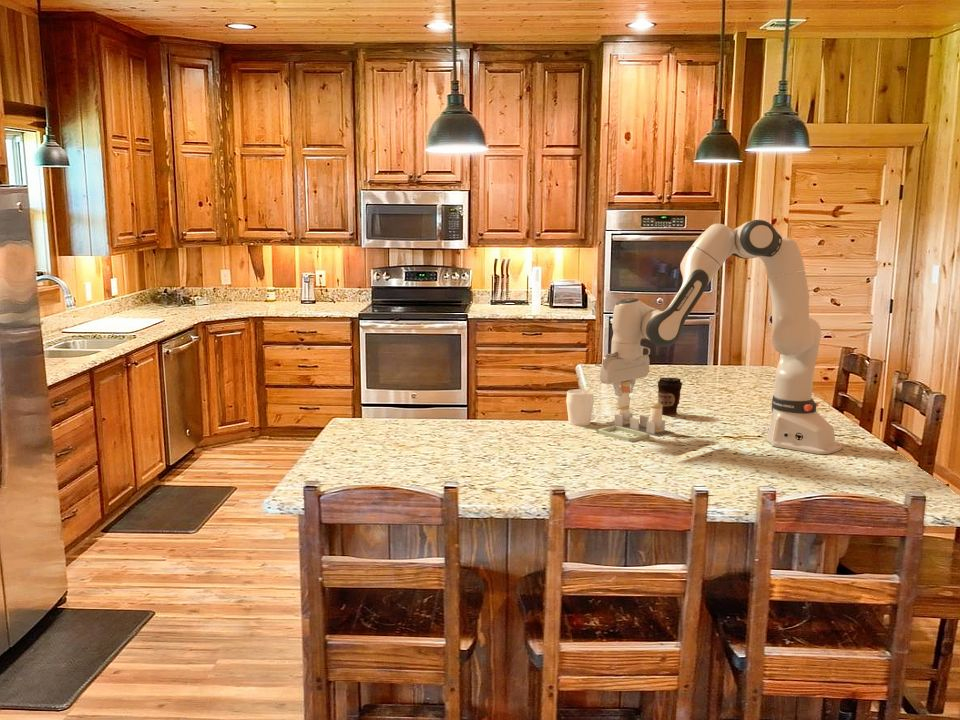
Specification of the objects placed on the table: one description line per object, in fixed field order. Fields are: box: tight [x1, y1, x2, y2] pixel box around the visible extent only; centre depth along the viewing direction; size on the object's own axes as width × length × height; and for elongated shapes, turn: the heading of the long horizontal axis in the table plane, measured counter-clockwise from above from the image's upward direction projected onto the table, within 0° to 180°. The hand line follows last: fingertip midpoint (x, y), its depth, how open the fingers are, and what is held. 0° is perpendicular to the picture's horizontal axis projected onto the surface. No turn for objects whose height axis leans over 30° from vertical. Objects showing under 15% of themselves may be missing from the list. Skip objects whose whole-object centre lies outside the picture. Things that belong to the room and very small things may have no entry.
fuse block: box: [605, 411, 675, 438], centre depth 280 cm, size 22×8×5 cm, turn 42°
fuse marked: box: [616, 380, 630, 410], centre depth 269 cm, size 4×4×9 cm
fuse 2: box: [649, 402, 663, 433], centre depth 274 cm, size 4×4×9 cm
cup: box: [565, 388, 595, 427], centre depth 285 cm, size 9×9×12 cm
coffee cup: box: [657, 377, 683, 417], centre depth 303 cm, size 9×8×13 cm
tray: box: [596, 425, 650, 443], centre depth 271 cm, size 14×9×2 cm, turn 42°
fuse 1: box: [617, 396, 631, 425], centre depth 284 cm, size 4×4×9 cm
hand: (623, 394), depth 269 cm, fingers closed on fuse marked, 4 cm apart
